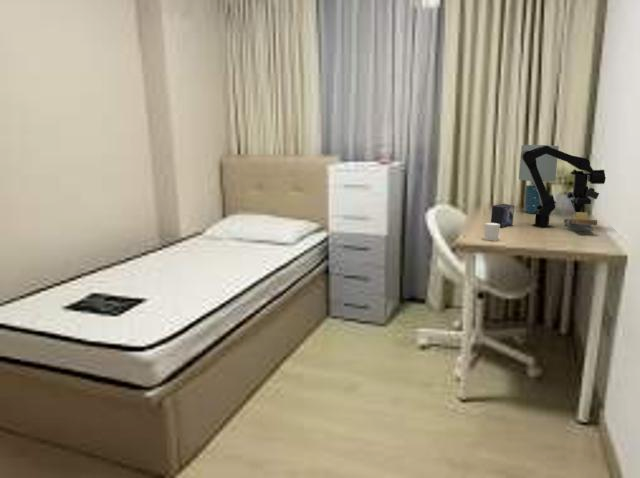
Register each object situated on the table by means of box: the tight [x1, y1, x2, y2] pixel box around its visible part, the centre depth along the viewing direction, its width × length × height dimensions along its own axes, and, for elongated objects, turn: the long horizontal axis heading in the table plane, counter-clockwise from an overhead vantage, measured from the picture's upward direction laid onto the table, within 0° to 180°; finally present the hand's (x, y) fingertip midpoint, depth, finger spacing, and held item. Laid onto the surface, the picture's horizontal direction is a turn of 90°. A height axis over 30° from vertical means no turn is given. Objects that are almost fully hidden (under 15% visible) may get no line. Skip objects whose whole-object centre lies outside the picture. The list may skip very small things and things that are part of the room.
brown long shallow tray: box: [563, 218, 598, 226], centre depth 259 cm, size 26×8×2 cm, turn 169°
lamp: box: [518, 144, 560, 215], centre depth 305 cm, size 19×19×38 cm
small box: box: [490, 203, 515, 229], centre depth 269 cm, size 11×6×10 cm, turn 129°
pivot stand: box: [565, 220, 594, 236], centre depth 260 cm, size 25×11×5 cm, turn 169°
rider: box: [571, 211, 589, 220], centre depth 261 cm, size 7×5×4 cm
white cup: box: [483, 222, 501, 242], centre depth 239 cm, size 7×7×7 cm
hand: (577, 215), depth 265 cm, fingers closed
